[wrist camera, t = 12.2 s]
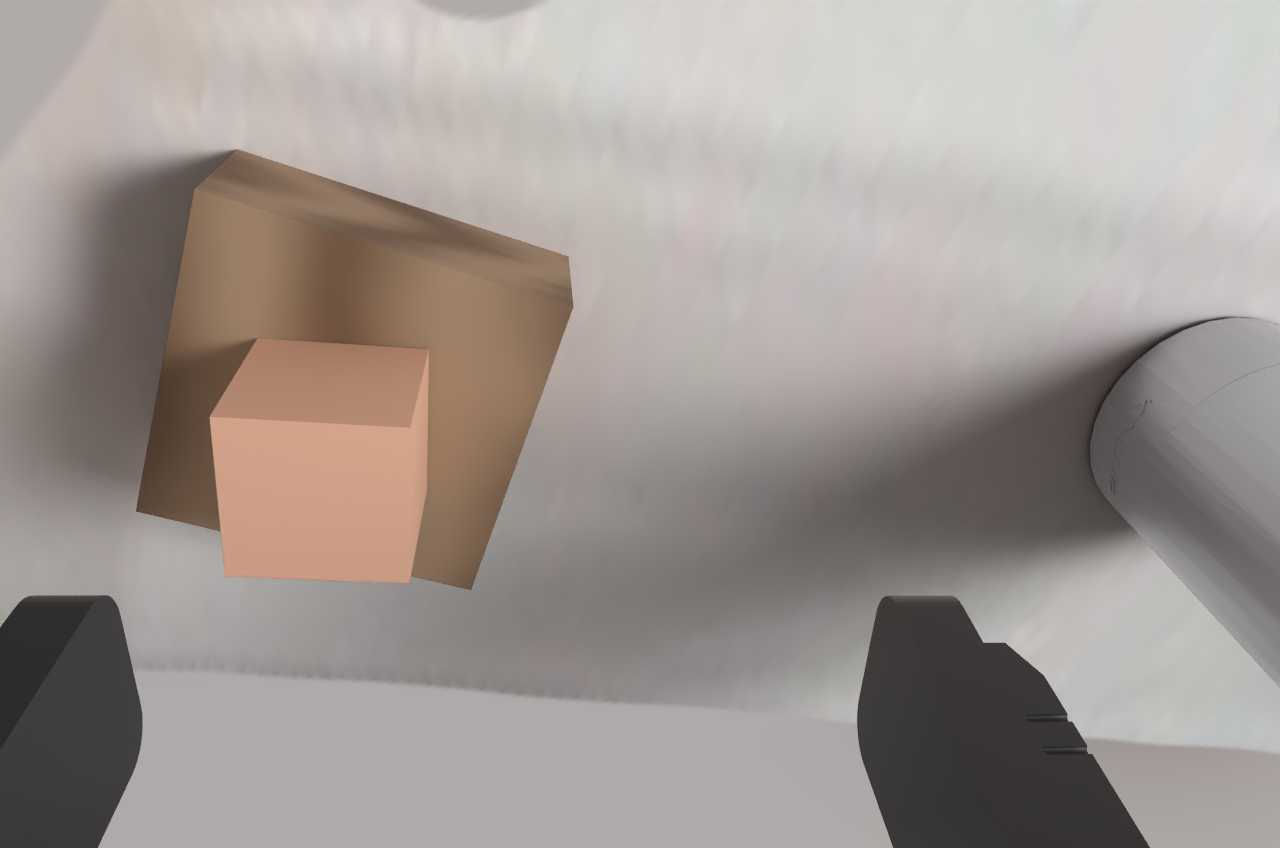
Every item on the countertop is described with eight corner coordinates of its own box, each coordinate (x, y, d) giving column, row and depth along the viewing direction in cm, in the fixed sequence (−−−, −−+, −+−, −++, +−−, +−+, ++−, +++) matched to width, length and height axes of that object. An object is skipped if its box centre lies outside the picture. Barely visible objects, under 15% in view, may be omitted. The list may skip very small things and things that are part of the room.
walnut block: (567, 253, 35) (573, 306, 31) (477, 511, 40) (470, 589, 35) (239, 147, 33) (194, 189, 28) (182, 436, 37) (136, 511, 33)
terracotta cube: (429, 348, 31) (410, 427, 27) (427, 489, 33) (409, 583, 29) (257, 337, 30) (209, 416, 26) (267, 482, 33) (225, 576, 28)
